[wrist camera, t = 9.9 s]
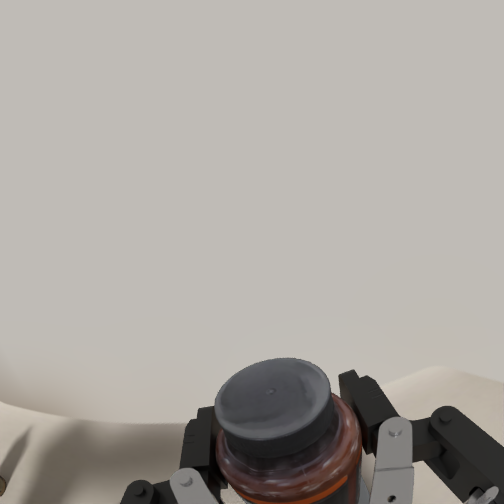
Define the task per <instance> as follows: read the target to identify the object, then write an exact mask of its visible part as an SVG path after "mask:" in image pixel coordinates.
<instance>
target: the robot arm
mask: <svg viewBox="0 0 504 504" xmlns="http://www.w3.org/2000/svg"><path fill="white" fill-rule="evenodd" d="M338 377H339V386H340V396H341V399H343V400H344V401H346V403H347V404H348V405H349V406H351V408H352V409H353V411H354V412H355V414H356V416H357V418H358V420H359V424H360V428H361V434H362V446H363V449H364V451H365V453H366V455H368V454H371V453H373V454H374V456H375V458H376V460H375V468H374V475H373V482H372V488H371V494H370V499H369V504H412V499H413V486H414V467H412V463H414V462H418V461H424V462H425V463H426V464H427V465H428V466H429V467H430V468H431V469H432V470H433V472H434V473H435V474H436V475H437V476H438V477H439V478H440V479H441V480H442V481H443V482H444V483H445V484H446V486H447V487H448V488H449V489H450V490H451V491H452V492H453V493H454V494H455V495H456V496H457V497H458V498H459V499H460V500H461V501H462V503H463V504H504V447H503V446H502V445H500V444H499V443H498V442H497V441H496V440H494V439H493V438H492V437H491V436H490V435H488V434H487V433H486V432H485V431H483V430H482V429H481V428H480V427H479V426H477V425H476V424H475V423H474V422H472V421H471V420H470V419H469V418H467V417H466V416H465V415H464V414H463V413H461V412H460V411H459V410H458V409H456V408H455V407H452V406H443V407H440V408H438V409H436V410H435V411H434V412H433V413H432V415H431V417H429V418H425V419H420V420H413V421H412V420H407V419H406V418H403V417H401V416H399V414H398V413H397V412H396V410H395V409H394V407H393V406H392V404H391V403H390V401H389V400H388V398H387V397H386V395H385V394H384V392H383V391H382V389H380V387H379V385H378V384H377V382H376V381H375V380H374V379H372V378H370V377H369V376H364V377H361V378H359V376H358V375H357V373H356V372H355V370H350V371H348V372H345V373H342V374H339V376H338ZM220 429H221V426H220V424H219V422H218V420H217V418H216V415H215V408H214V406H210V407H204V408H199V409H198V413H197V419H191V420H190V421H189V423H188V424H187V426H186V427H185V433H184V440H183V447H182V454H181V461H180V468H179V470H177V471H176V472H175V473H173V475H172V476H171V478H170V480H167V481H164V482H161V483H157V484H153V485H152V484H151V483H149V482H148V481H145V480H137V481H134V482H132V483H131V484H130V485H129V486H128V487H127V489H126V491H125V493H124V496H123V498H122V500H121V503H120V504H225V502H224V501H223V499H222V498H221V493H220V490H221V489H228V482H227V480H226V479H225V478H224V476H223V475H222V473H221V471H220V469H219V467H218V464H217V460H216V452H215V448H216V439H217V436H218V433H219V431H220Z"/></svg>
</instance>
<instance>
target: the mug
mask: <svg viewBox="0 0 504 504" xmlns="http://www.w3.org/2000/svg"><path fill="white" fill-rule="evenodd" d="M5 489H6V482H5V480H4V479H3V478H2V477H1V476H0V496H2V495H3V493H4V492H5Z"/></svg>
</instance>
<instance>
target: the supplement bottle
mask: <svg viewBox="0 0 504 504" xmlns="http://www.w3.org/2000/svg"><path fill="white" fill-rule="evenodd" d="M214 408H215V415H216V418H217V420H218V422H219V424H220V426H221V429H220V431H219V433H218V436H217V439H216V448H215V452H216V460H217V464H218V467H219V469H220V471H221V473H222V475H223V476H224V478H225V479H226V480H227V482H228V483H229V484H230V485H231V486H232V488H233V489H234V490H235V491H236V493H237V494H238V495H239V496H240V497H241V498H242V499H243V501H244V502H245V503H246V504H358V502H359V497H360V483H361V462H362V434H361V428H360V424H359V420H358V418H357V416H356V414H355V412H354V411H353V409H352V408H351V406H349V405H348V404H347V403H346V401H344V400H343V399H341V398H340V397H338V396H337V395H335V394H334V393H331V388H330V382H329V380H328V378H327V376H326V374H325V373H324V372H323V371H322V370H321V369H320V368H319V367H318V366H316V365H315V364H312V363H311V362H308V361H305V360H301V359H296V358H277V359H272V360H266V361H262V362H259V363H255V364H253V365H250V366H248V367H246V368H244V369H243V370H241V371H239V372H238V373H236V374H234V375H233V376H232V377H231V378H230V379H229V380H228V381H227V382H226V383H225V384H224V385H223V386H222V387H221V389H220V390H219V392H218V394H217V396H216V398H215V405H214Z"/></svg>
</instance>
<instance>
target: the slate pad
mask: <svg viewBox="0 0 504 504" xmlns="http://www.w3.org/2000/svg"><path fill="white" fill-rule="evenodd" d="M369 499H370V494H369V492H368V490H367V487H366V485H365V482H364V480H363V478H362V475H361V483H360V497H359V502H358V504H369Z"/></svg>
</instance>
